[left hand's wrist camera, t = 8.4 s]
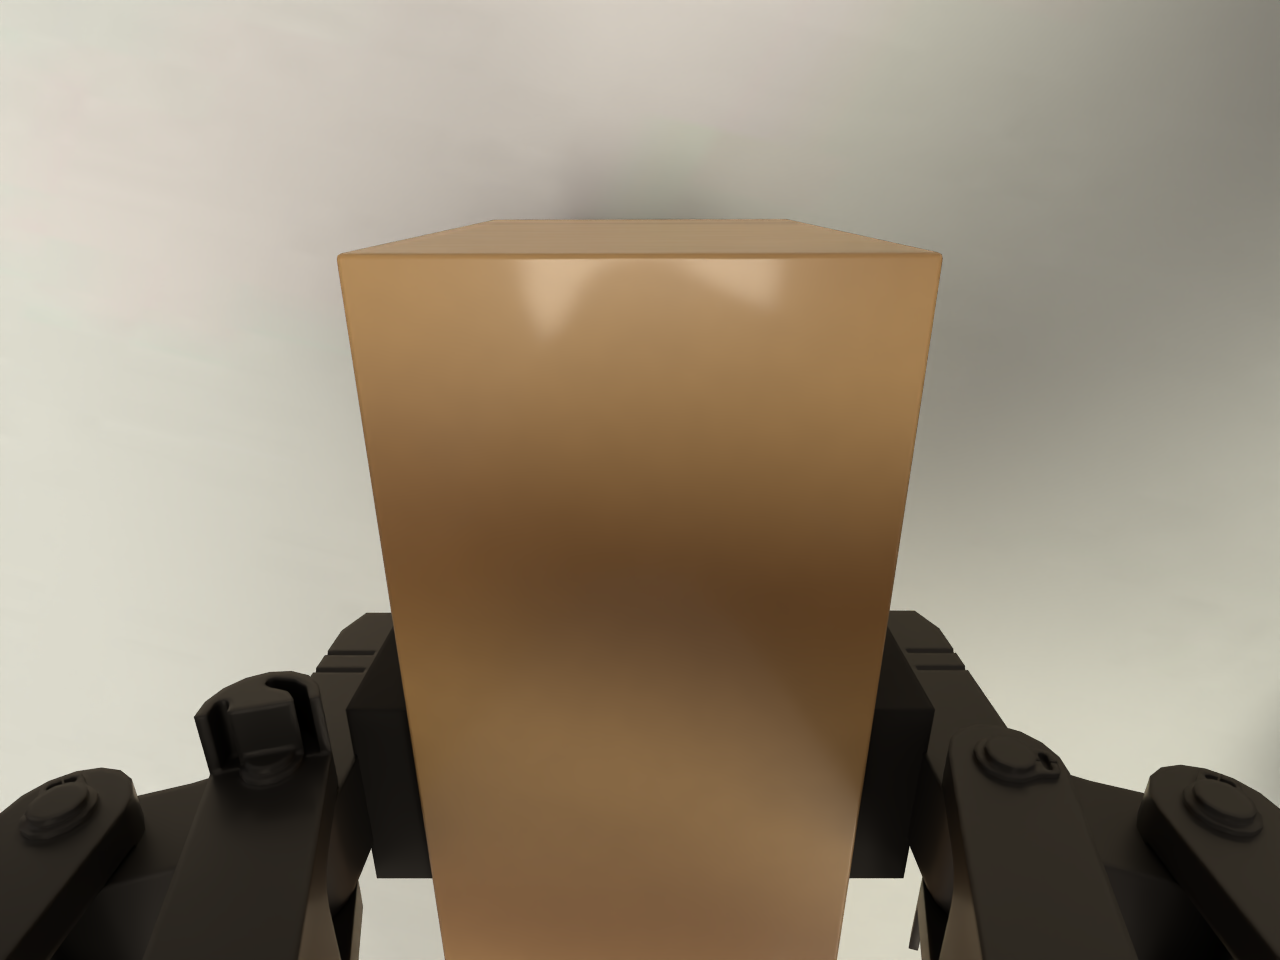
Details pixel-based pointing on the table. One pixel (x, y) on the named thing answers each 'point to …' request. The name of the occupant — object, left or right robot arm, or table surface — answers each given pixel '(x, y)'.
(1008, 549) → the table surface
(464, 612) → the bar
